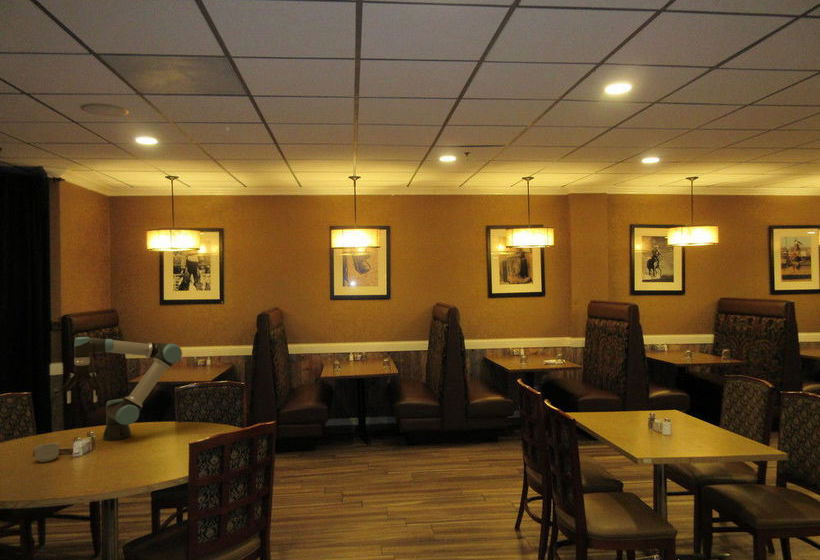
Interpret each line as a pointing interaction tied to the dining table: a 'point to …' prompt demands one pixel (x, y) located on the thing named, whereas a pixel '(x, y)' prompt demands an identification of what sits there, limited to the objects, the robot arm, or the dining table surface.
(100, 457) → the dining table surface
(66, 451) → the stop bar
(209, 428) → the dining table surface
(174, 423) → the dining table surface
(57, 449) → the teacup
